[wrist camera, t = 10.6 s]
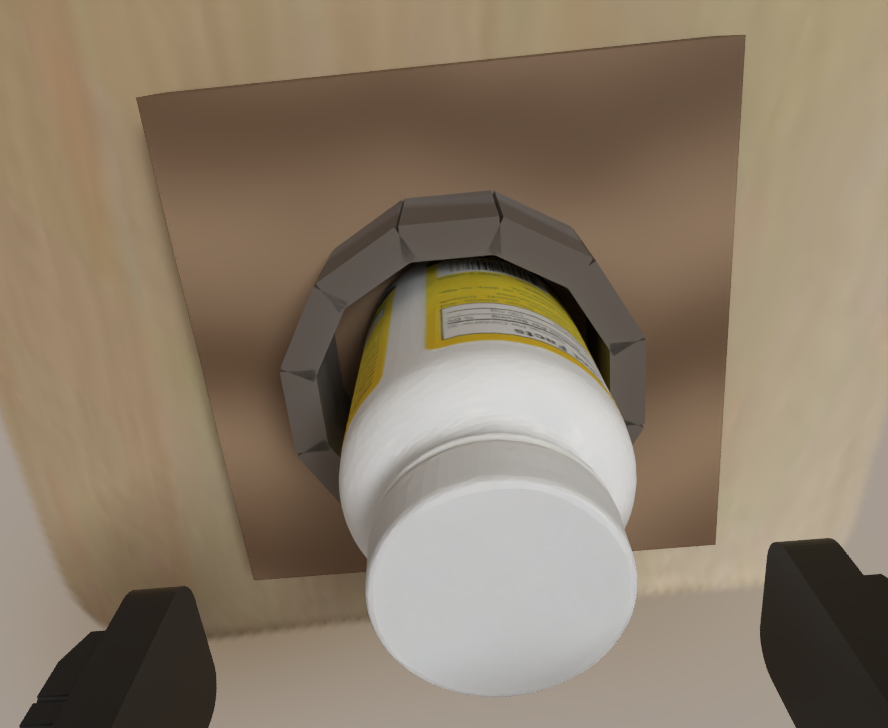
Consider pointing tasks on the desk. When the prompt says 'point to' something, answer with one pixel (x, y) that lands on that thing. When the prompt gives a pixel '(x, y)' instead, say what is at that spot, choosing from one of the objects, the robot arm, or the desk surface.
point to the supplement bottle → (487, 482)
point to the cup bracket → (455, 254)
